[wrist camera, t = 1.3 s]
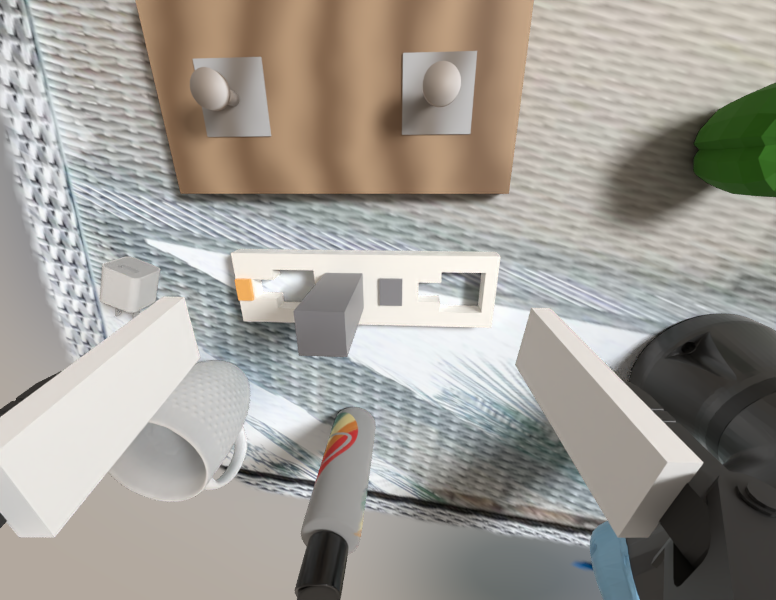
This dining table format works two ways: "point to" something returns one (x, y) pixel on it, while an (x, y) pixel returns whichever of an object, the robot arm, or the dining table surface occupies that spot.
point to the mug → (190, 436)
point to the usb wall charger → (129, 284)
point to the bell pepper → (740, 146)
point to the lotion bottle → (336, 506)
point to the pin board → (339, 93)
